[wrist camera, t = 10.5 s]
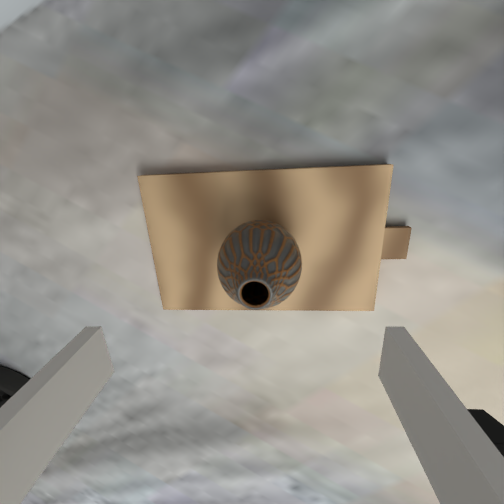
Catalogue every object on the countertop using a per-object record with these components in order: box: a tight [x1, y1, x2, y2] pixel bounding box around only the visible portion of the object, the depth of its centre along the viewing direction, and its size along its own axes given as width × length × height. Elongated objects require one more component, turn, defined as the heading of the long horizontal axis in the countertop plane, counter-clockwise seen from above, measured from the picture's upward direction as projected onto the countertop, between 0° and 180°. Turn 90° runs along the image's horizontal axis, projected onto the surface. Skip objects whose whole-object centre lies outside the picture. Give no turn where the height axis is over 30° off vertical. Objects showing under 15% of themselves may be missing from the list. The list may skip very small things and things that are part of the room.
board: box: [137, 164, 411, 311], centre depth 26 cm, size 24×14×1 cm, turn 93°
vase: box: [217, 220, 302, 310], centre depth 21 cm, size 7×7×9 cm
